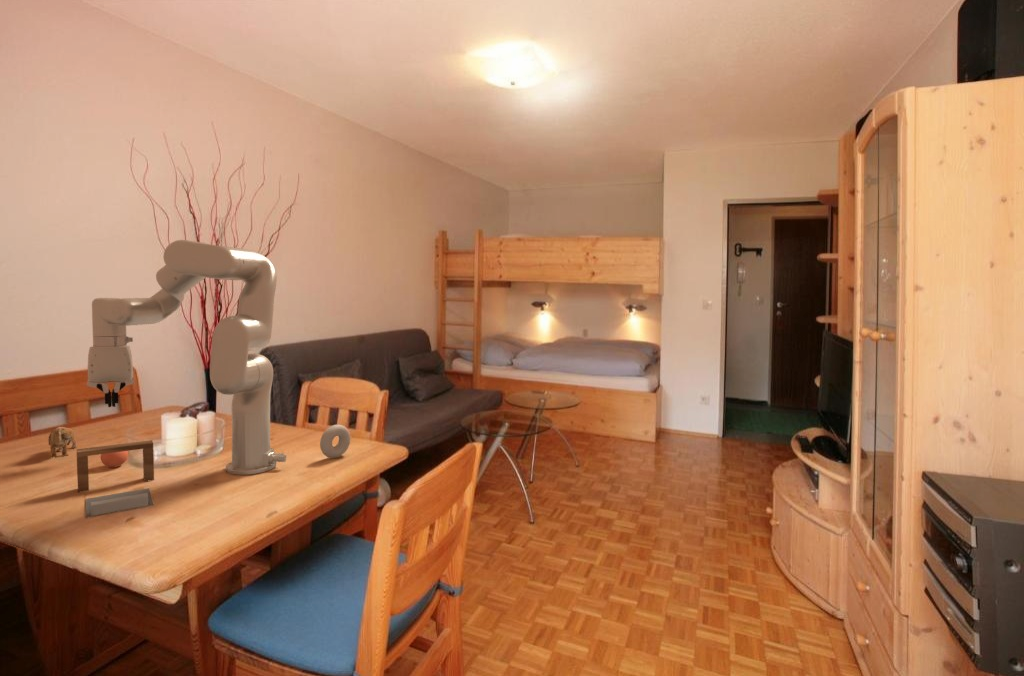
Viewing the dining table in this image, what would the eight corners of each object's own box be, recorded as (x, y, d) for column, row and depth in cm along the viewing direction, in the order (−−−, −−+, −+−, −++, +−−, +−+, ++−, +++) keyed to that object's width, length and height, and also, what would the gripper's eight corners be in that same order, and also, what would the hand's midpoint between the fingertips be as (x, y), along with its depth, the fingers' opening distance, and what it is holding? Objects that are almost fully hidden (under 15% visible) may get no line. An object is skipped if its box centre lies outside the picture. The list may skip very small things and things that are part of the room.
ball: (133, 462, 147) (132, 441, 146) (120, 469, 141) (119, 448, 140) (109, 463, 146) (108, 441, 145) (95, 470, 140) (95, 448, 140)
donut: (324, 462, 152) (324, 428, 151) (317, 460, 154) (317, 426, 153) (352, 454, 160) (353, 422, 159) (345, 452, 162) (345, 420, 161)
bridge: (78, 488, 127) (76, 449, 127) (152, 476, 137) (152, 440, 136) (78, 492, 125) (76, 452, 124) (154, 479, 134) (153, 442, 134)
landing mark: (85, 499, 121) (85, 498, 121) (149, 489, 129) (149, 488, 128) (85, 517, 112) (85, 517, 112) (153, 505, 119) (153, 504, 119)
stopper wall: (91, 513, 114) (91, 502, 114) (147, 503, 120) (147, 492, 120) (91, 516, 112) (91, 505, 112) (148, 506, 119) (148, 495, 118)
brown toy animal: (72, 458, 149) (70, 427, 148) (47, 461, 146) (45, 429, 145) (77, 445, 161) (76, 416, 160) (54, 448, 158) (53, 418, 157)
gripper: (141, 340, 156) (142, 401, 157) (75, 341, 146) (77, 406, 148) (143, 342, 150) (144, 405, 151) (75, 344, 141) (77, 411, 142)
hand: (111, 406), depth 150 cm, fingers closed
